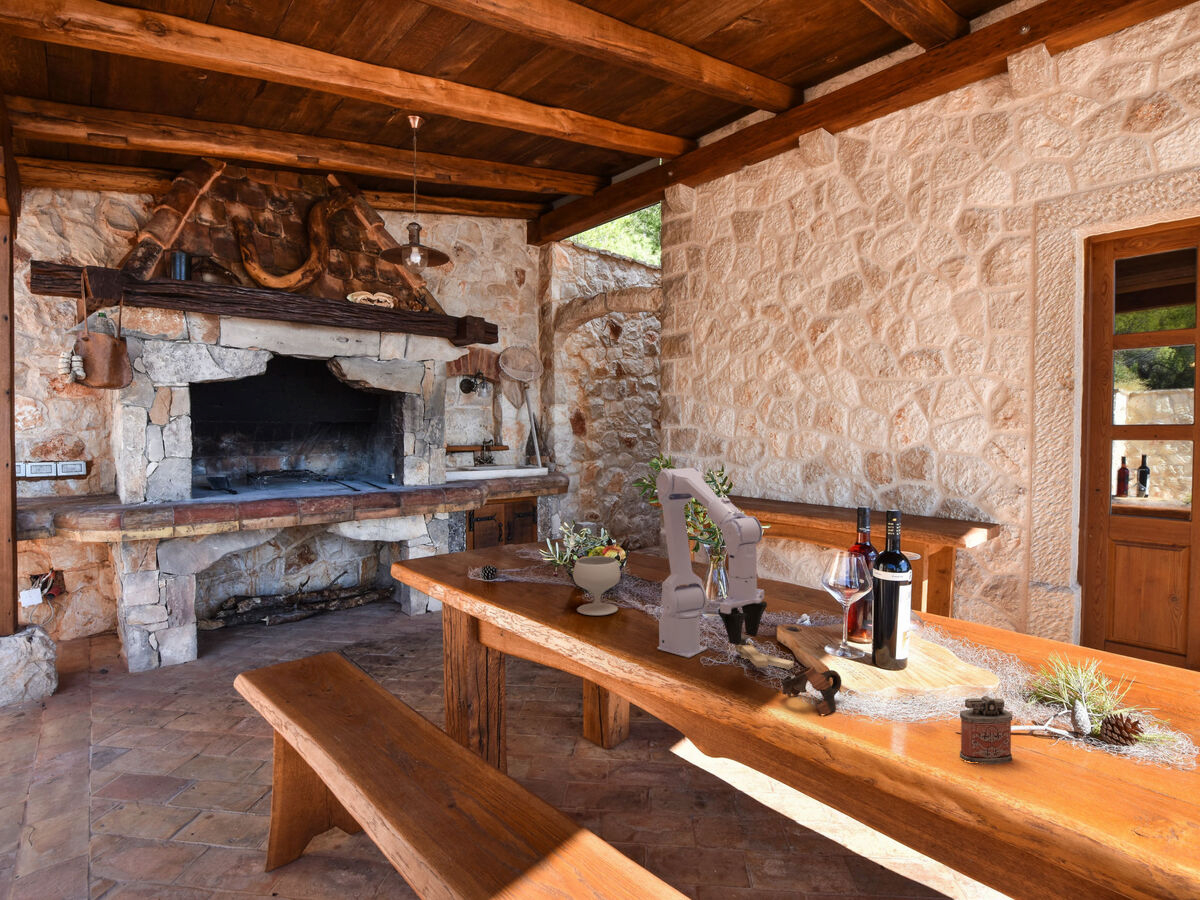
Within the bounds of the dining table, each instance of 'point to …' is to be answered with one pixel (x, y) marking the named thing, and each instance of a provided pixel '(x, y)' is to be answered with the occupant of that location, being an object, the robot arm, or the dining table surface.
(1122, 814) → the dining table surface
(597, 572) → the chalice
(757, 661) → the bar
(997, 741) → the lighter
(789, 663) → the tongs base
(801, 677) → the dark brown angled piece
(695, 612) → the robot arm
